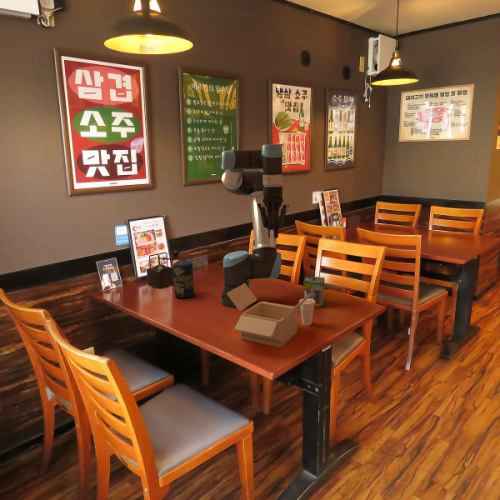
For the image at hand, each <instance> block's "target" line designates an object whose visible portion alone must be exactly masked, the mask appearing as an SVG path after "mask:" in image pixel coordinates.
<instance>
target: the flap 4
mask: <svg viewBox="0 0 500 500" xmlns="http://www.w3.org/2000/svg"><path fill="white" fill-rule="evenodd" d="M311 295H312V293H311V294H310V295H308V296H307V297H306V298H304V297H303V298H302V299H303V300H302V301H301V302H299V301H298V303H297V304H296V305H295V306H293V307H294V308H293V309H292V310H291V311H290V312H289V313H288V314H287V315H286V316H285V317H284V318H283V319H285V318H286V317H287V316H289V315H290V314H291V313H292V312H294V311H295V310H296V309H297V308H298V309H300V306H301V305H302V304H303V303H304V302H305V301H306V300H307V299H308V298H309V297H310V296H311Z"/></svg>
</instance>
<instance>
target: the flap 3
mask: <svg viewBox="0 0 500 500" xmlns="http://www.w3.org/2000/svg"><path fill="white" fill-rule="evenodd" d="M261 302H262V303H268V304H274V305H280V306H286V307H292V308H294V307H295V306H293V305H285V304H282V303H281V304H280V303H276V302H275V303H274V302H269V301H261ZM297 313H301V309H300V308H297Z"/></svg>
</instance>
